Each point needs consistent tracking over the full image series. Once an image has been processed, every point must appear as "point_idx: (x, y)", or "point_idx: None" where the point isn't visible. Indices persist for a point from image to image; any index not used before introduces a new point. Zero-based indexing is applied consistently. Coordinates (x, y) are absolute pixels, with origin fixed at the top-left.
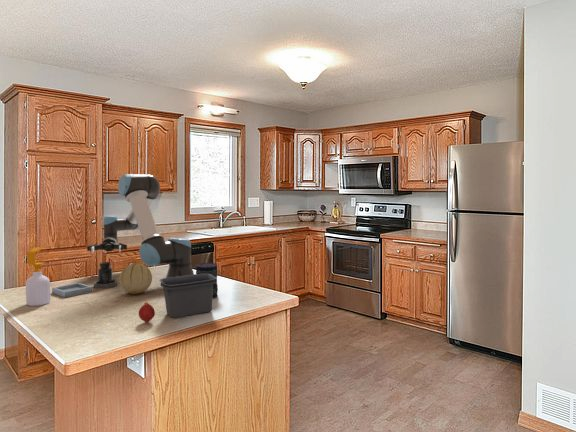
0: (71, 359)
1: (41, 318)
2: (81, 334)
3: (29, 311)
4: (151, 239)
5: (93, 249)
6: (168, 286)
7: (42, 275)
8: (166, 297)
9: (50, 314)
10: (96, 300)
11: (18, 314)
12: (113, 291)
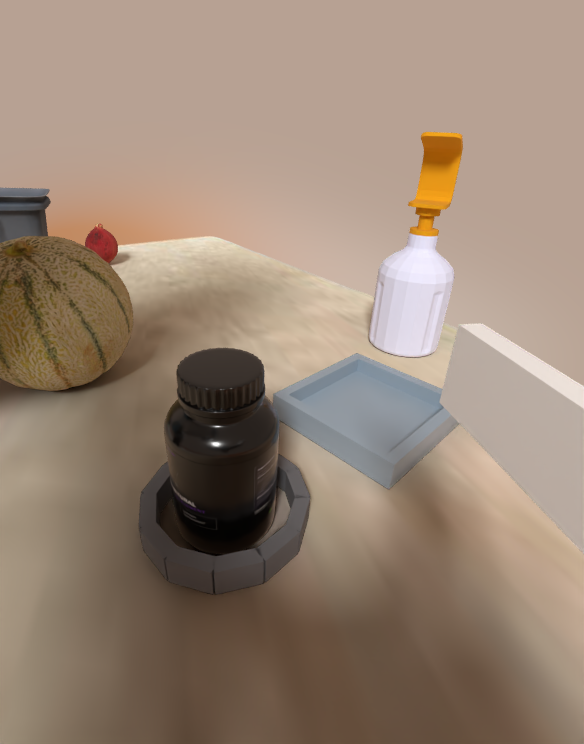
0: (210, 237)
1: (315, 289)
2: (213, 257)
3: None
4: None
5: (511, 413)
6: (42, 193)
7: (403, 250)
8: (43, 234)
9: (309, 298)
10: (224, 342)
11: None
12: None
